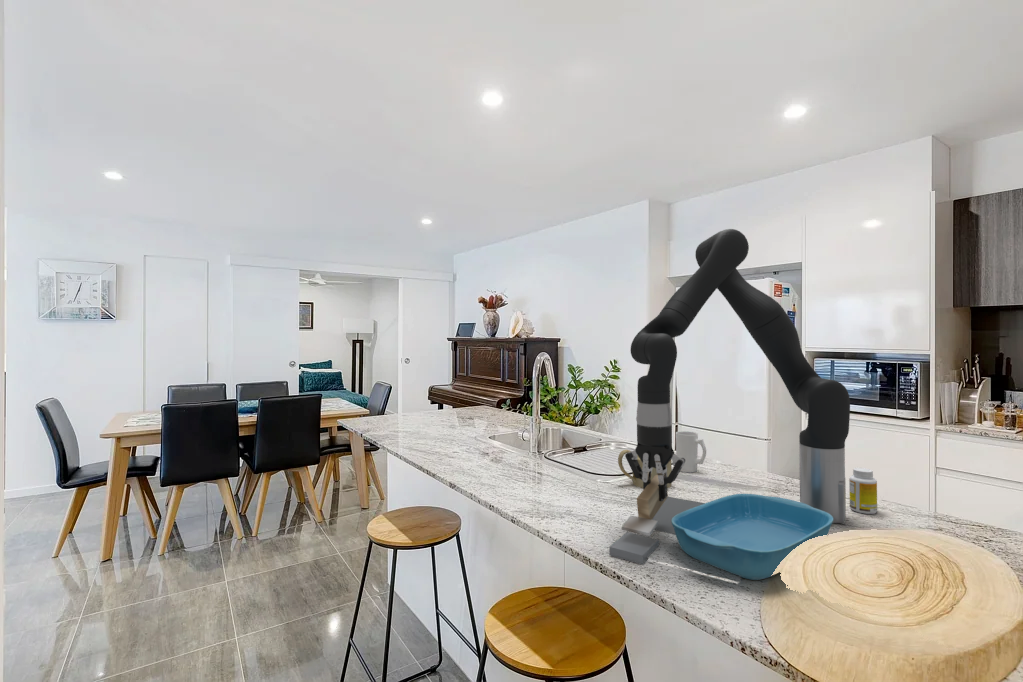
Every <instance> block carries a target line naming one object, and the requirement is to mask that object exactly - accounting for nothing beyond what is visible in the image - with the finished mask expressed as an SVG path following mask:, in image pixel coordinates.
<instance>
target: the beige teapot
mask: <svg viewBox="0 0 1023 682" xmlns="http://www.w3.org/2000/svg"><path fill="white" fill-rule="evenodd" d="M630 451H631V450H629V449H623V450H622V451H620V452H619V454H618V457H617V463H618V467H619V469H620V470H621V472H622V473H623V474H624V475H625V476H626V477H627V478H629V479H630V480H631V481H632V484H633V485H634V486H635V487H638V488H640V489H643V481H642V480H641V479H639V478H636V477H635V476H634V474H633V473H632V475H631V474H630V473H628V472H627V471H626V470H625V468H624V464H623V458H624V457H625V454H627V453H628V452H630ZM637 456H638V455H637ZM637 460H638V463H639V465H640V467H641V469H642V468H643V463H642V461H641V460H640V458H639V457H638V459H637ZM672 466H673V465H672V459H671V460H670V461H669V463H668V464H667V477H668V476H669V475H670V473H671V471H672V469H673V468H672ZM655 475H658V474H657V471H656V468H654V467H653V469H652V474H651V480H652V479H653V478H654V476H655ZM671 487H672V483H670V484H669V483H668V484H667V489H669V488H671Z"/></svg>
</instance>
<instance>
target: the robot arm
mask: <svg viewBox="0 0 1023 682" xmlns="http://www.w3.org/2000/svg"><path fill="white" fill-rule="evenodd" d="M749 247H750V246H749V242H748V239H747V238H746V235H744V234H743V232H741V231H739V230H738V229H734V228H727V229H723V230H720V231H718V232H716V233H714V234H713V235H711V236H710V237H707V238H706V239H704V240H703V241H702V242H700V243H699V244H698V246H697V247H696V249H695V259H696V263H697V265H698V267H699V268H698V269H697V270H696V271H695V272H694V273H693V274H692V275H691V276H690V278H688V279H687V280H686V281H685V282H684V283H683V284H682V285H681V286H680V287H679V288H678V289H677V290H676V291H675V292H674V293H673V295H672V296H671V297H670V298H669V300H668V301H667V302H666V304H665V305H664V306H663V308H662V309H661V310H660V312H659V314H657V316H655V318H653V319H652V320H650V321H649V322H648V323H647V324H646V325H645V326H644V327H643V328H641V329H640V331H638V332H637V334H636V335H635V336H634V338H633V340H632V342H631V343H630V351H629V352H630V355H631V357H632V359H633V360H634V361H635V362H637V363H638V364H642V365H649V366H648V367H649V368H648V372H647V374H646V375H641V376H640V377H639V378H638V380H637V407H636V418H635V420H636V443H637V444H636V447H635V450H633V451H632V450H630V452H628V453H626V454H624V457H625V459H626V461H627V463H628V465H629V467H630V469H631V472H632V475H633V474H634V476H635V477H636V478H639V479H641V480H642V481H643V488H642V489H643V490H644V489H645V487H646V486H647V485H649V484H650V482H651V474H652V469H653V467H654V468H656V471H657V474H658V481H659V485H658V486H659V501H663V500H664V499H665V498H666V497H667V491H668V488H667V484H668V483H669V484H670V483H671V484H673V482H674V481H676V479H677V478H678V475H679V474H680V472H681V471H680V470H681V469H682V467H683V465H684V463H685V459H684V458H679V457H678V456H676V454H675V451H674V449H673V444H672V443H673V436H672V435H673V433H672V432H673V431H672V428H673V426H672V425H673V422H672V416H673V415H672V407H671V386H670V385H671V381H672V378H673V375H674V371H675V366H676V363H677V358H678V349H677V344H676V342H675V340H674V339H673V338H676V337H680V336H682V335H683V334H684V333H685V332H686V331H687V329H688V328H689V327H690V325H691V324H692V323H693V321H694V320H695V318H696V317H697V316H698V314H699V312H701V309H702V308H703V306H704V305H705V304H706V302H707V301H708V300H709V299H710V297H711V296H712V295H713V294H714V292H715V291H716V290H718V291H719V292H720V293H721V295H722V297H724V298H725V300H726V301H727V302H728V304H729V306H730V307H731V308H732V309H733V311H734V313H735V314H736V316H738V318H739V319H740V321H741V322H742V324H743V325H744V327H745V328H746V330H747V332H748V333H749V334H750V336H751V338H752V339H753V340H754V342H755V343H756V345H757V346H758V347H759V349H761V351H762V353H763V354H764V355H765V357H766V358H767V360H768V361H769V363H770V364H771V365H772V366H773V368H775V370H776V372H777V373H778V375H779V377H780V378H781V381H782V382H783V383H784V385H785V387H786V389H787V392H788V393H789V395H790V396H791V398H792V400H793V402H794V403H795V405H796V407H798V408H799V409H800V410H801V411H803V412H804V413H806V414H807V426H806V428H805V429H803V430H802V431H800V432H799V435H798V436H799V437H798V438H799V441H798V442H799V443H798V444H799V449H798V450H799V452H798V453H799V454H798V455H799V502H801V503H805V504H807V505H809V506H811V507H813V508H816V509H819V510H822V511H825V512H827V513H829V514H830V515H832V517H833V522H832V524H843V525H845V524H846V516H847V515H846V513H847V512H846V508H847V507H846V502H847V501H846V494H847V493H846V488H847V487H846V461H845V460H846V459H845V458H846V452H845V451H846V449H845V447H846V441H847V437H848V435H849V432H850V416H851V413H850V412H851V399H850V394H849V392H848V389H847V388H846V387H845V385H843V384H842V383H841V382H840V381H837V380H834V379H829V378H823V377H821V376H820V375H819V374H818V373H817V372H816V370H814V368H813V367H812V366H811V364H810V363H809V361H808V359H806V356H805V355H804V353H803V350H802V346H801V341H800V337H799V334H798V330H797V328H796V326H795V324H794V322H793V321H792V320H791V318H790V317H789V315H788V314H787V312H786V311H785V310H784V308H783V307H782V305H781V304H780V303H779V302H777V300H775V299H774V298H773V297H772V296H770V295H768V294H766V293H765V292H763V291H761V290H760V289H758V288H756V287H754V286H753V285H751V284H750V283H749V282H748V281H747V280H745V278H744V277H743V276H742V274H741V273H740V272H739V271H738V269H737V268H738V267H739V266H740V265H741V264H742V263H743V262H744V261H745V260H746V259H747V256H748V254H749ZM637 455H638V456H637ZM638 457H639V458H640V460H641V461H642V463H643V468H642V469H641V467H640V465H639V463H638V460H637V459H638ZM670 460H671V466H673V468H672V471H671V473H670V475H669V476H668V477H667V464H668V463H669V461H670ZM643 490H642V491H643Z"/></svg>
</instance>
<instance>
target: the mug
mask: <svg viewBox="0 0 1023 682" xmlns="http://www.w3.org/2000/svg"><path fill="white" fill-rule="evenodd" d="M699 445H700V446H701V450H702V455H701V457H700V458H698V456H699V455H698V453H699V452H698V451H699V449H698V448H699V447H698V446H699ZM675 452H676V454H675V455H676V456H678V457H679V458H684V459H685V463H684V465H683V467H682V469H681V470H680V472H681V473H687V474H688V473H689V474H690V473H696V472H697V471H698V465H703V464H704V462H705V459H706V456H707V448H706V444H705V442H704V439H702V438H699V433H697V432H695V431H686V430H684V431H683V430H681V431H676V432H675Z"/></svg>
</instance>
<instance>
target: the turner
mask: <svg viewBox="0 0 1023 682" xmlns="http://www.w3.org/2000/svg"><path fill="white" fill-rule="evenodd" d="M658 485H659V481H658V475H655V476H654V478H653V479H652V480H651V482H650V484H649V485H647V486H646V487H645V489H644V490H642V491H641V492H640V493H639V495H638V496H637V497H636V505H637V507H636V508H637V515H638V516H636V515H633V514H632V515H631V514H630V515H629V517H628V518H627V519H626V521H625V522H624V523H623V525H622V526H621V531H624V532H630V533H634V534H638V535H643V536H647V537H651V536H652V534H653V533H654V531H655V530H654V529H655V528H656V526H657V525H658V521H656V520H652V519H653V517H654V516H655V514H656V513H657V512H658V510H659V509H660V507H661V506H662V505H663V503H664V502H665V500H666V499H667V497H669V494H668V490H667V497H666V498H665V499H664V500H663V501H659V486H658Z"/></svg>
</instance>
